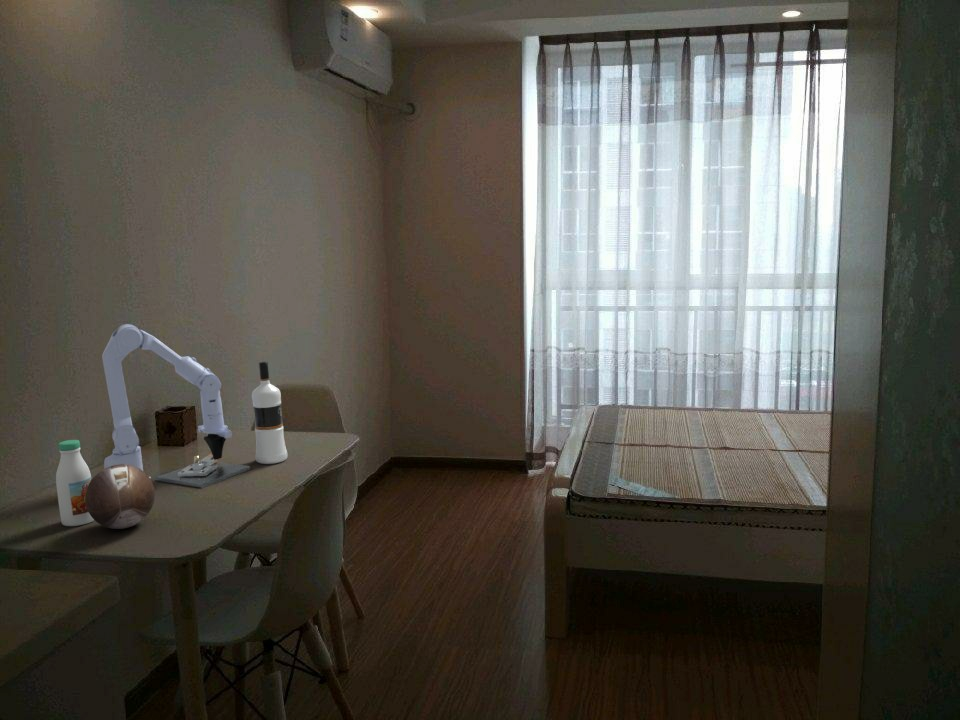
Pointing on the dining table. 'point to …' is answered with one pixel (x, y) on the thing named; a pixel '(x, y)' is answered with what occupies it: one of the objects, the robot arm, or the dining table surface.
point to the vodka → (268, 420)
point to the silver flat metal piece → (207, 467)
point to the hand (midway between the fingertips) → (217, 458)
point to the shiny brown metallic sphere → (120, 496)
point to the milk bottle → (72, 484)
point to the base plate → (215, 476)
